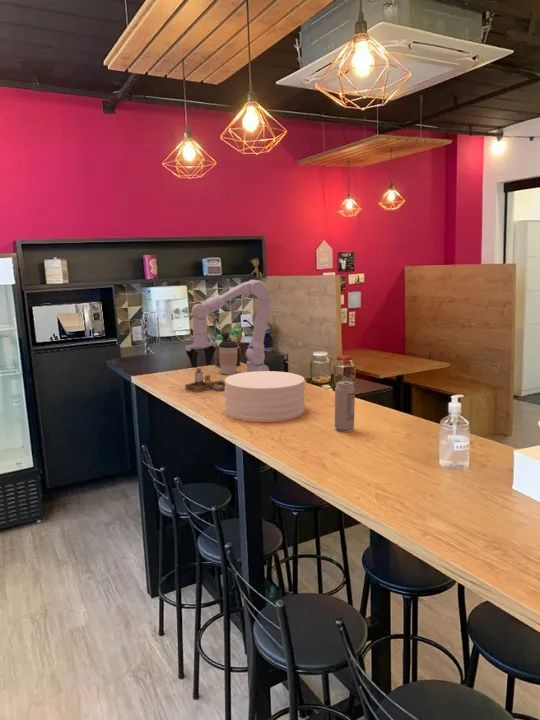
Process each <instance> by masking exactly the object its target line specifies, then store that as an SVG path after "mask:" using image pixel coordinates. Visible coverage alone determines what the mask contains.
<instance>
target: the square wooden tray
mask: <svg viewBox="0 0 540 720" xmlns="http://www.w3.org/2000/svg"><path fill="white" fill-rule="evenodd" d="M184 386H185V387H184V388H185V390H186V391H191V392H195V391H196V392H195V393H201V392H205V390H206V391H209V389H210V387H213V384H210V383H206V382H204V381H203V386H195V382H190V383H186V384H184ZM200 391H201V392H200Z"/></svg>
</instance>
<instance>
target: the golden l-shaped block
mask: <svg viewBox="0 0 540 720" xmlns="http://www.w3.org/2000/svg"><path fill="white" fill-rule="evenodd" d="M218 381H219V380H214V379H211V375H209V374H208V375H203V382H206V383H210V384H213V386H219V385H218Z"/></svg>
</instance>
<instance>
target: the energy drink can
mask: <svg viewBox="0 0 540 720" xmlns="http://www.w3.org/2000/svg"><path fill="white" fill-rule="evenodd" d="M355 389H356V388H355V386H354V382H353V381H348V380H341V381H338V382H337V384H336V386H335V389H334V428H336V431H338V430H339V431H338V432H341V431H349V432H351V431H350V430H352V431H353V429H354V428H355V407H356V406H355V402H356V399H355V397H356V395H355V394H356V393H355V392H356V390H355Z"/></svg>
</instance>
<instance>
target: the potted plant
mask: <svg viewBox="0 0 540 720" xmlns="http://www.w3.org/2000/svg"><path fill="white" fill-rule="evenodd" d="M221 338H222V342H223V341H225V340H230V341H232V339H231V338H230V333H229V332H227V331H224V332H222V333H221ZM219 344H221V342H220V343H219ZM214 348H216V350H215V352H214V354H213V356H214V362H213V363H214V365H215V366H217V367H219V368H220V357H219V345H216V347H214ZM237 352H238V353H237V364H236V367H240V366H241V364H240V363H241V347H239V346H238V349H237Z"/></svg>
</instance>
